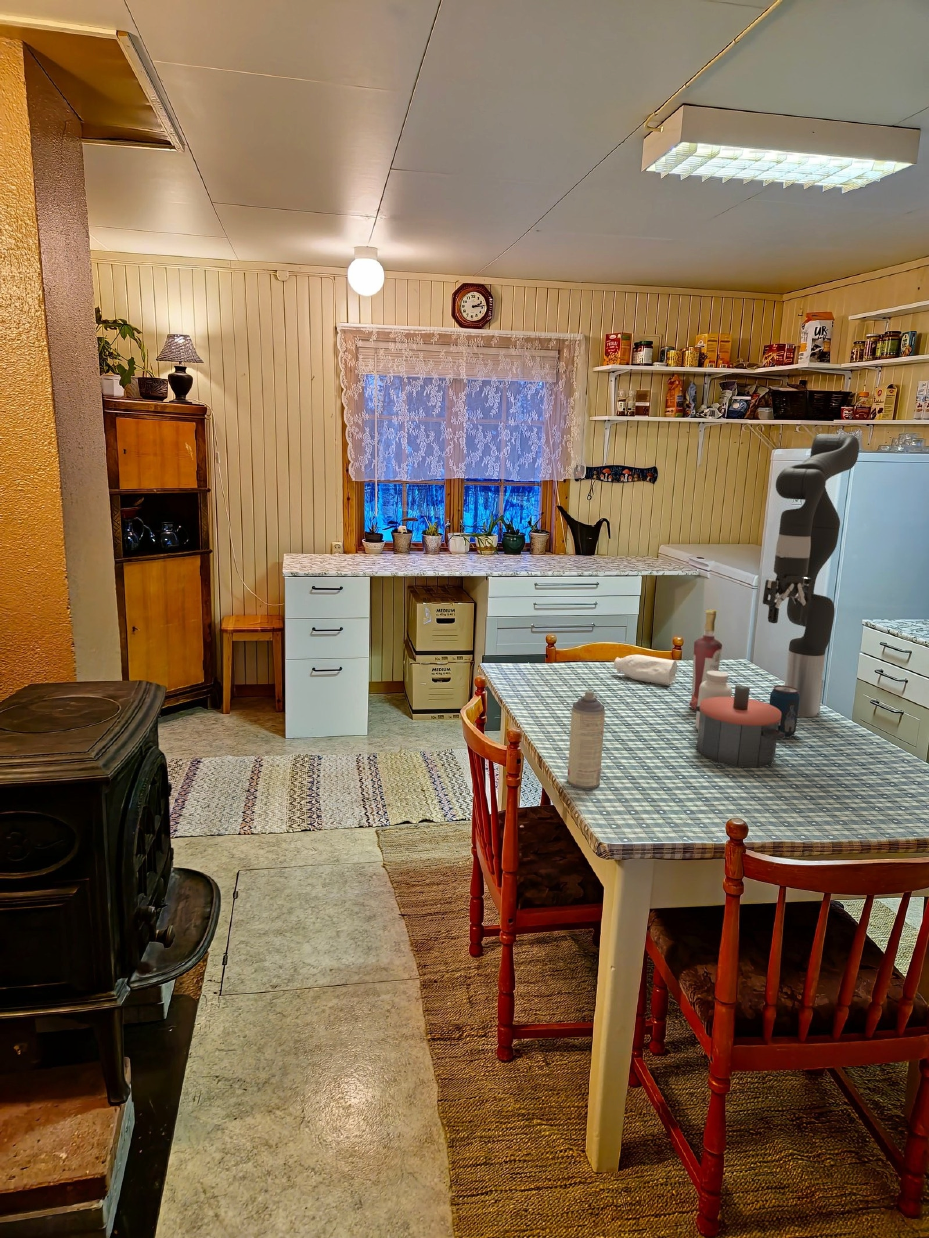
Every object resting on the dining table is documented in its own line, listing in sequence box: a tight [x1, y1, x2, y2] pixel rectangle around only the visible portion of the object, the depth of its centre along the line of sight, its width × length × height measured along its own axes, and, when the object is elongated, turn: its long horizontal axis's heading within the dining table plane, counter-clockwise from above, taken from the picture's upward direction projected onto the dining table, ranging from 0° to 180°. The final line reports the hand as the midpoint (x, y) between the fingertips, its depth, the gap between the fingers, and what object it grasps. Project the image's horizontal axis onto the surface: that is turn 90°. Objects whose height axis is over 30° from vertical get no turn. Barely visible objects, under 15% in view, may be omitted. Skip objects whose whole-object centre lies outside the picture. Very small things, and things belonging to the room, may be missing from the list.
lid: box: [700, 685, 782, 726], centre depth 188 cm, size 18×18×7 cm
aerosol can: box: [566, 690, 606, 790], centre depth 168 cm, size 7×7×20 cm
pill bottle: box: [694, 670, 733, 730], centre depth 205 cm, size 8×8×15 cm
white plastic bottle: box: [613, 654, 678, 687], centre depth 250 cm, size 8×19×8 cm, turn 57°
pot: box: [695, 706, 786, 769], centre depth 189 cm, size 17×23×10 cm
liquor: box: [689, 609, 723, 712], centre depth 220 cm, size 7×7×28 cm
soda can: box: [768, 685, 800, 739], centre depth 204 cm, size 7×7×12 cm
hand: (784, 621), depth 194 cm, fingers open, 8 cm apart
